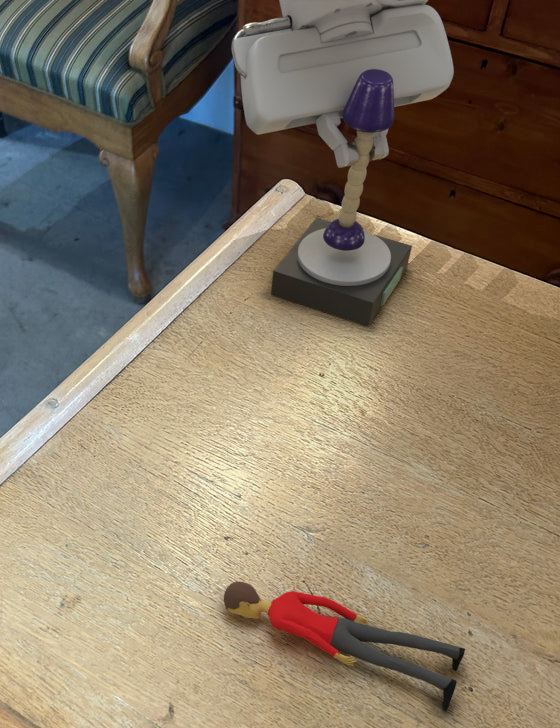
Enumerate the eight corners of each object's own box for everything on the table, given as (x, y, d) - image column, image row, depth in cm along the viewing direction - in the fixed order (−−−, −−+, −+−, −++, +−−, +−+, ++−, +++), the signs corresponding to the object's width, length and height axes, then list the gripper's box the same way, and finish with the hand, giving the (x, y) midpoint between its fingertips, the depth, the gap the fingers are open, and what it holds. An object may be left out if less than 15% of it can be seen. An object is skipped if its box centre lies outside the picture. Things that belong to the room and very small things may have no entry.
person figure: (450, 678, 68) (228, 604, 72) (466, 636, 66) (237, 563, 71) (445, 717, 64) (209, 635, 68) (462, 673, 62) (218, 592, 66)
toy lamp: (375, 247, 91) (413, 80, 78) (336, 259, 89) (369, 91, 76) (349, 223, 93) (382, 58, 80) (311, 234, 92) (338, 68, 79)
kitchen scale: (408, 270, 97) (415, 241, 94) (370, 327, 91) (376, 298, 88) (313, 241, 100) (317, 212, 97) (270, 294, 94) (273, 265, 92)
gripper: (237, 10, 77) (274, 173, 79) (445, -26, 81) (476, 130, 83) (216, 43, 83) (251, 193, 85) (411, 7, 87) (440, 152, 89)
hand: (363, 161), depth 84 cm, fingers closed on toy lamp
